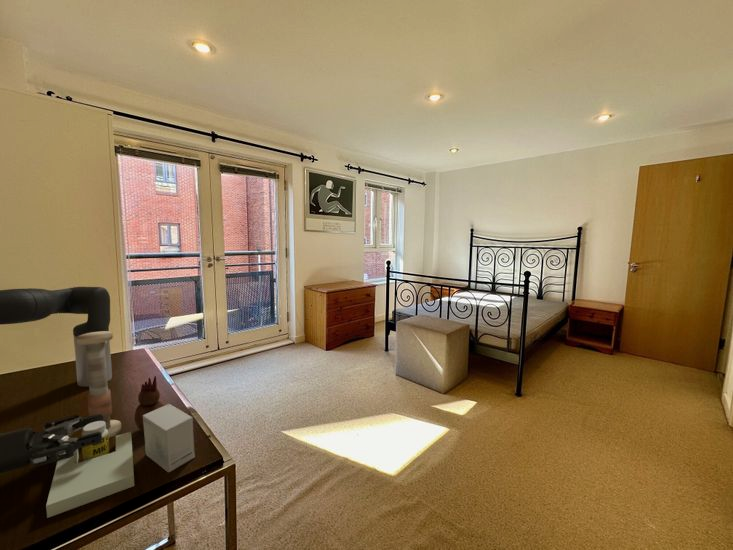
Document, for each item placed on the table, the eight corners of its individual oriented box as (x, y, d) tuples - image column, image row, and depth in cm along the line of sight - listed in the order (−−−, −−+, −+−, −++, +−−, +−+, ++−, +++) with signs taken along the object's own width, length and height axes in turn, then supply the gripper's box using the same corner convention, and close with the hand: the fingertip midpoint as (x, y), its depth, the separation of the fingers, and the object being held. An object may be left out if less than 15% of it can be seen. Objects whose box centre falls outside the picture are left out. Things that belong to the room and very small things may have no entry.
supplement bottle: (94, 468, 71) (91, 433, 70) (77, 464, 72) (74, 430, 71) (115, 454, 76) (112, 421, 75) (98, 451, 77) (96, 418, 76)
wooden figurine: (170, 426, 87) (167, 373, 85) (149, 438, 82) (146, 383, 80) (152, 420, 89) (149, 369, 87) (131, 432, 84) (127, 378, 82)
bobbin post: (83, 430, 84) (74, 333, 81) (121, 420, 89) (115, 328, 86) (80, 447, 78) (71, 342, 74) (121, 435, 83) (114, 337, 79)
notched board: (61, 461, 73) (60, 451, 72) (131, 440, 81) (131, 431, 80) (47, 517, 59) (46, 505, 58) (134, 485, 67) (133, 474, 66)
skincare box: (143, 455, 76) (141, 414, 74) (172, 441, 81) (170, 402, 80) (167, 474, 70) (164, 430, 69) (195, 457, 76) (194, 416, 74)
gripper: (-16, 457, 58) (100, 426, 68) (5, 420, 69) (102, 398, 79) (-12, 494, 59) (102, 459, 69) (9, 451, 70) (104, 426, 80)
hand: (102, 426), depth 74 cm, fingers open, 8 cm apart
